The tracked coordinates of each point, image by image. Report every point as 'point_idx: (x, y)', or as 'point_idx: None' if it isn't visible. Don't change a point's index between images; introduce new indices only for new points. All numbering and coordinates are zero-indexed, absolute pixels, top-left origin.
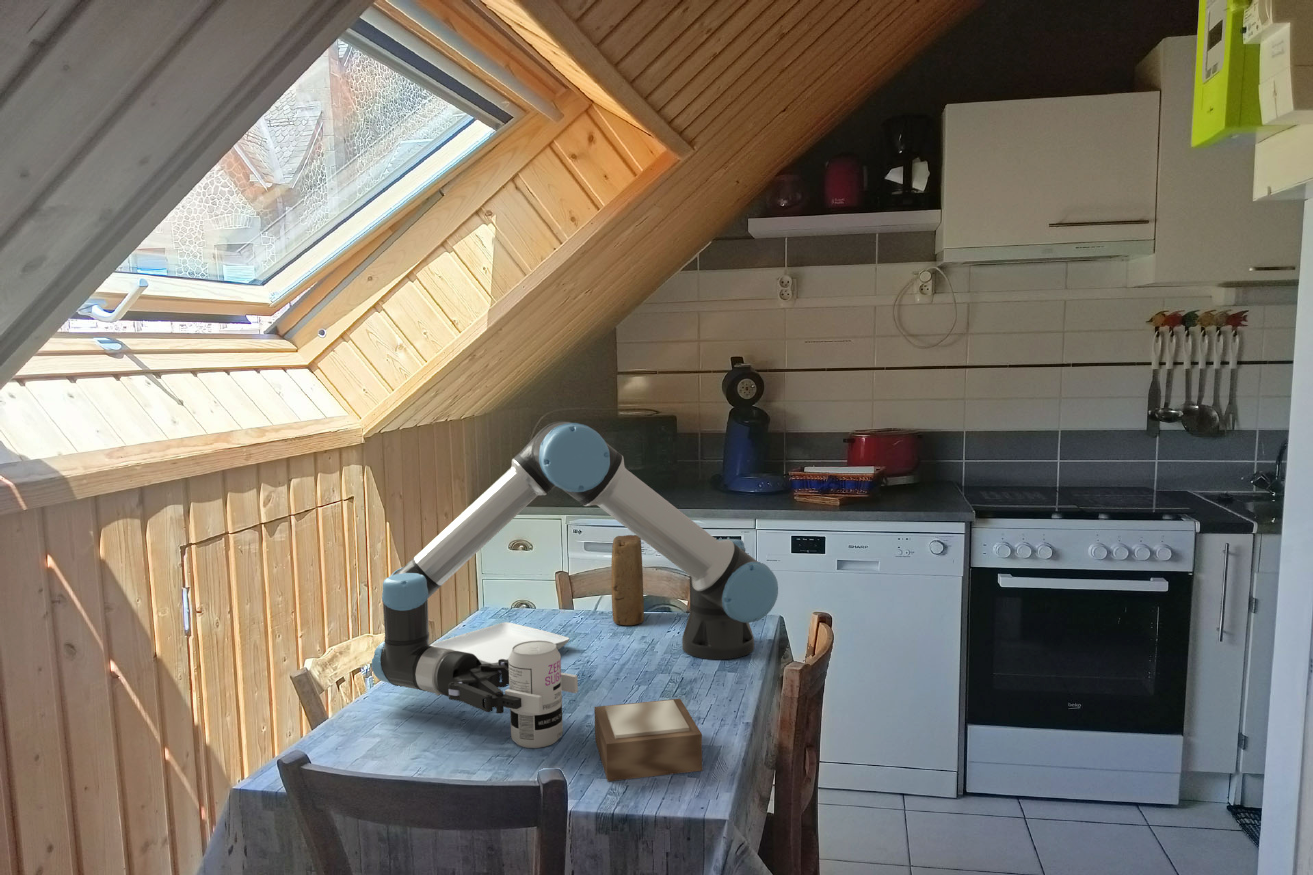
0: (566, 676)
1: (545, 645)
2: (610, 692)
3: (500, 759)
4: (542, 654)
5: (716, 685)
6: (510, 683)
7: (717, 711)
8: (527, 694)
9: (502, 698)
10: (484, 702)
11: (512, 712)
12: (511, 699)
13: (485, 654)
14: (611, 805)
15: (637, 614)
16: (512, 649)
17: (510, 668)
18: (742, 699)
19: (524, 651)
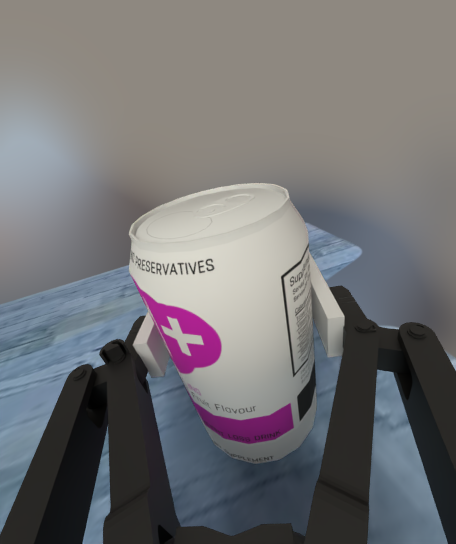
0: None
1: (172, 213)
2: (3, 425)
3: (383, 399)
4: (247, 187)
5: (21, 318)
6: (305, 318)
7: (106, 286)
8: (314, 270)
9: (366, 318)
10: (408, 400)
11: (311, 375)
12: (351, 295)
13: None
14: (336, 245)
15: None
16: (268, 215)
17: (302, 270)
18: (73, 286)
19: (252, 206)
